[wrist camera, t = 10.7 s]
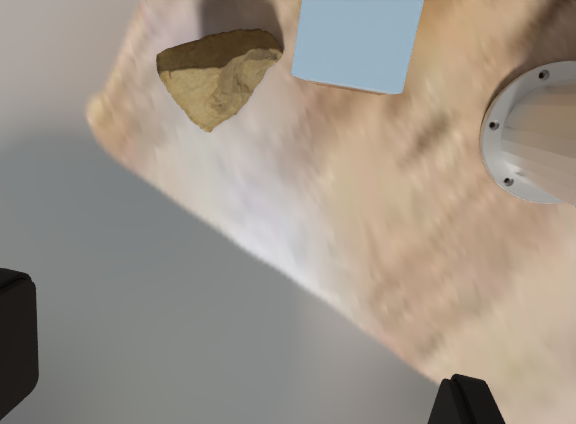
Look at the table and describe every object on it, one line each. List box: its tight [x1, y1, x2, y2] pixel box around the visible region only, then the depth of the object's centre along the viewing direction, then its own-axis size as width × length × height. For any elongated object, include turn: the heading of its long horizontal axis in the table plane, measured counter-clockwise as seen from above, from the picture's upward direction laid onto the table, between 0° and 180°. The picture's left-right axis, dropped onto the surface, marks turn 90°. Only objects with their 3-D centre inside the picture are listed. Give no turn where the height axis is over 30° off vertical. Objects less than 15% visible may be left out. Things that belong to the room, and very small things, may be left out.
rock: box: [156, 29, 283, 132], centre depth 37 cm, size 11×9×10 cm
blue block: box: [291, 0, 424, 94], centre depth 23 cm, size 6×6×6 cm
